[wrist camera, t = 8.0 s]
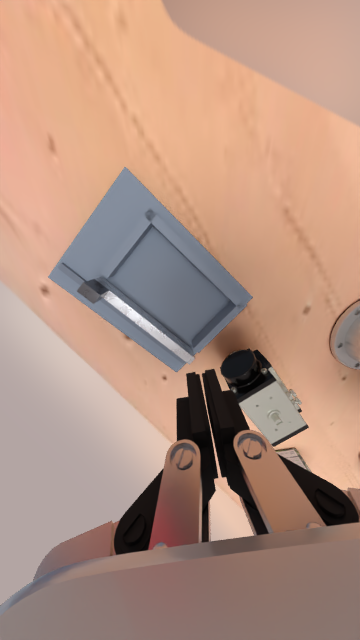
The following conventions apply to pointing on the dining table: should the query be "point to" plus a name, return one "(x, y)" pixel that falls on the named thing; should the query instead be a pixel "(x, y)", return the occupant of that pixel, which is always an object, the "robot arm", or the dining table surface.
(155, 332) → the gate
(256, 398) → the pneumatic valve
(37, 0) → the dining table surface
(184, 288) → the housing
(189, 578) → the robot arm
